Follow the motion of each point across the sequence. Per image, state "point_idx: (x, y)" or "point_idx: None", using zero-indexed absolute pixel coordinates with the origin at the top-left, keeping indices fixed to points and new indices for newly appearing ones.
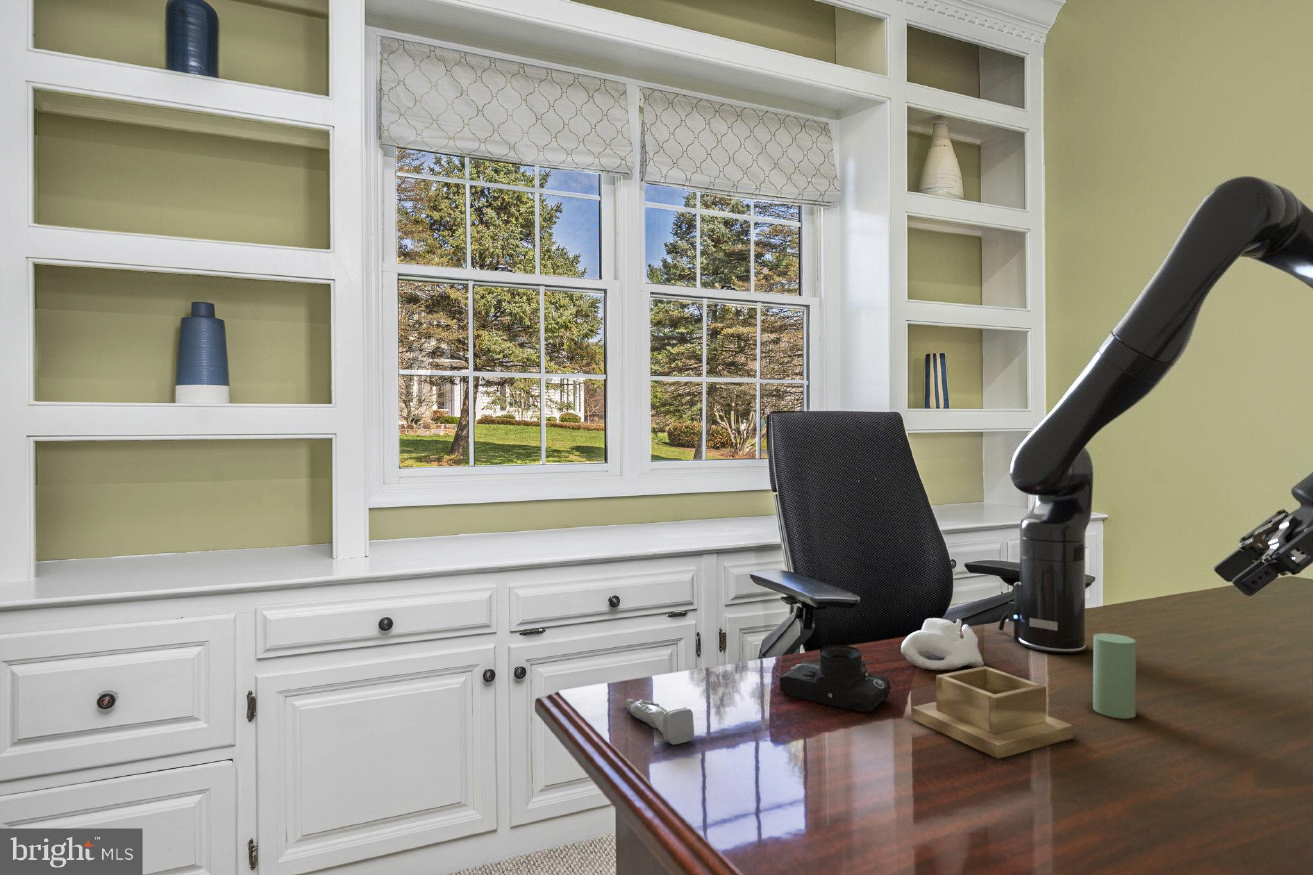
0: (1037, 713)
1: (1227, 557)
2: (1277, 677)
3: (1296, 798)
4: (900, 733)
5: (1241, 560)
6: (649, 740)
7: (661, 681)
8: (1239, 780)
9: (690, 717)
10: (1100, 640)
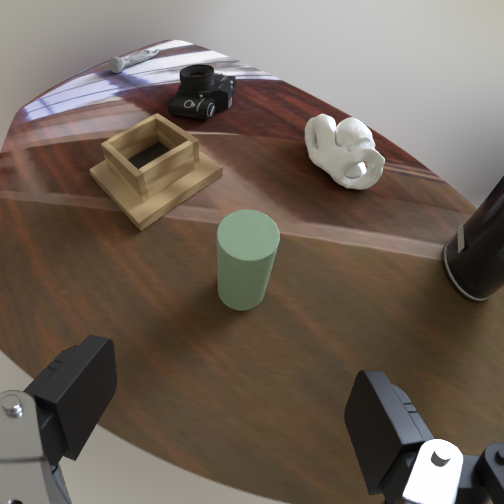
0: (133, 188)
1: (397, 403)
2: None
3: None
4: None
5: (376, 448)
6: None
7: (206, 52)
8: None
9: (116, 63)
10: (230, 214)
